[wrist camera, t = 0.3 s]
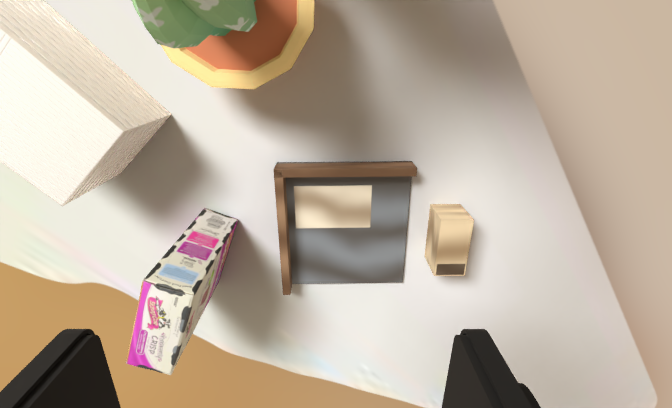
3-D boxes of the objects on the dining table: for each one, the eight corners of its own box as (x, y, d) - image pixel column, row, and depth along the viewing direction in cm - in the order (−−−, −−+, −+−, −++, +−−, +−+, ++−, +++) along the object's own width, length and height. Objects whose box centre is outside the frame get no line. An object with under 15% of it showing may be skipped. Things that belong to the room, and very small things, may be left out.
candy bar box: (202, 206, 46) (140, 278, 31) (239, 218, 47) (196, 294, 32) (184, 273, 50) (122, 366, 35) (218, 283, 51) (172, 378, 36)
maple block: (430, 204, 47) (441, 220, 42) (459, 203, 47) (474, 220, 42) (424, 255, 50) (434, 276, 45) (452, 255, 50) (464, 276, 45)
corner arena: (277, 162, 44) (273, 169, 41) (411, 161, 44) (417, 168, 42) (285, 281, 51) (283, 294, 48) (401, 280, 51) (405, 293, 49)
